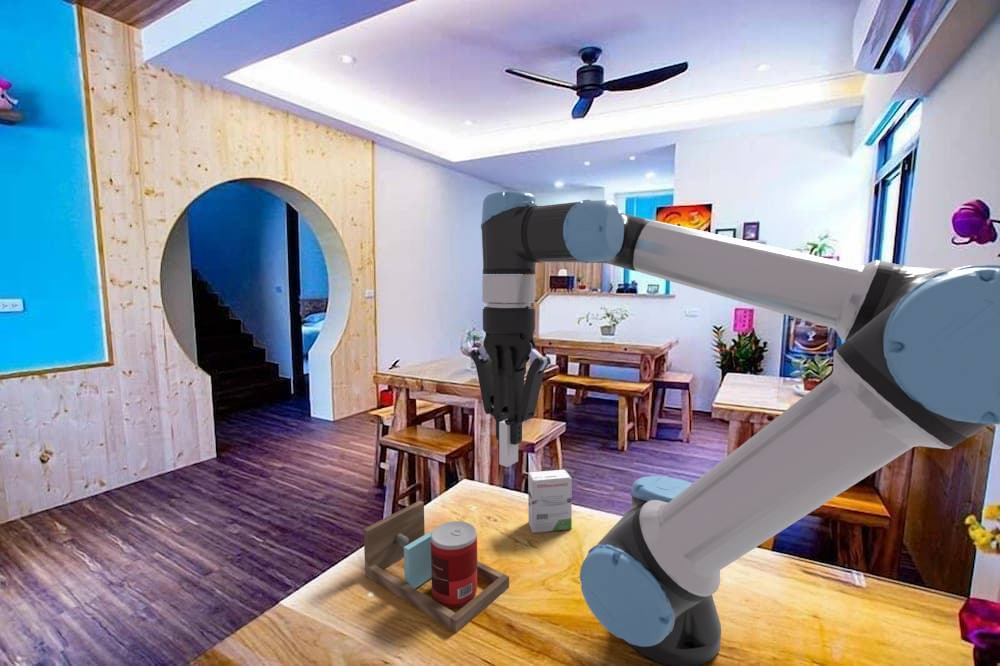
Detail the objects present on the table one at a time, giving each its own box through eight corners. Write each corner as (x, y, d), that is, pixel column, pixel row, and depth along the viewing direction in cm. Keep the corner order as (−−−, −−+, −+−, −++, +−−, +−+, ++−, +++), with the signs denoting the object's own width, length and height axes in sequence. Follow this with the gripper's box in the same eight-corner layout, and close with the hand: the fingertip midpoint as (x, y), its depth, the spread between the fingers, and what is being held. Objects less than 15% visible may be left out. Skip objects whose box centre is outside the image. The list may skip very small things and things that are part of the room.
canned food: (482, 581, 84) (482, 523, 83) (469, 612, 77) (468, 549, 75) (441, 575, 86) (440, 518, 85) (424, 605, 78) (423, 542, 77)
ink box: (565, 518, 106) (566, 467, 104) (572, 530, 101) (573, 477, 99) (527, 522, 104) (527, 470, 103) (532, 534, 99) (532, 480, 98)
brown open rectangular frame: (509, 587, 83) (509, 538, 82) (456, 633, 72) (455, 578, 71) (420, 542, 96) (419, 500, 95) (365, 575, 86) (363, 528, 85)
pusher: (451, 563, 89) (450, 524, 88) (409, 592, 81) (408, 549, 80) (439, 557, 91) (438, 518, 90) (397, 584, 83) (396, 543, 82)
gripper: (561, 305, 67) (559, 465, 70) (490, 302, 75) (490, 446, 78) (531, 308, 61) (530, 483, 64) (457, 304, 69) (459, 460, 72)
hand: (508, 462), depth 71 cm, fingers closed
